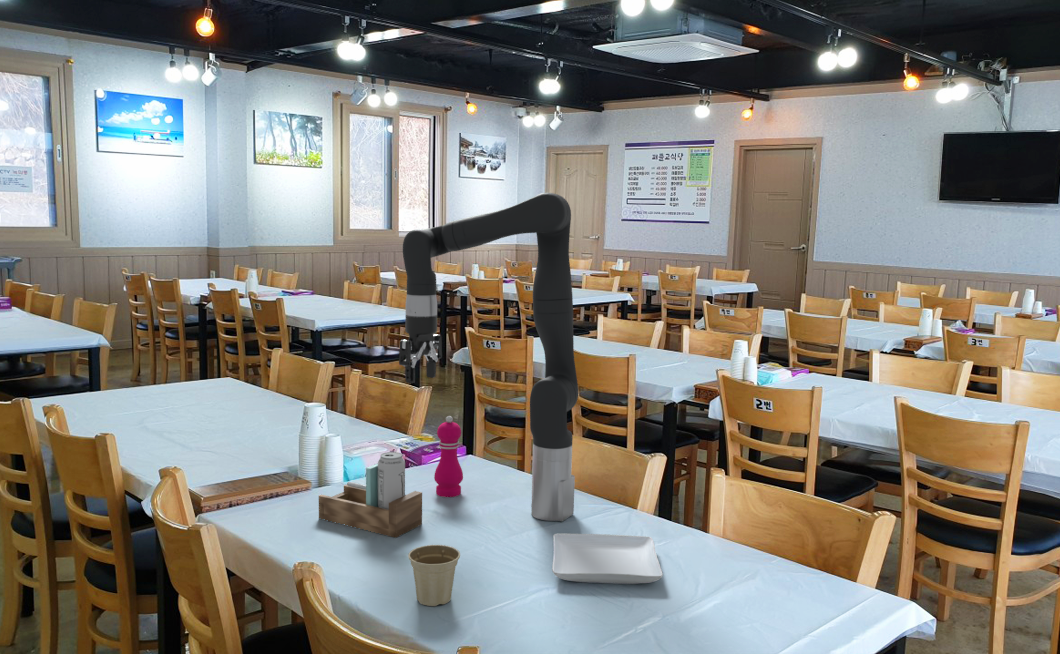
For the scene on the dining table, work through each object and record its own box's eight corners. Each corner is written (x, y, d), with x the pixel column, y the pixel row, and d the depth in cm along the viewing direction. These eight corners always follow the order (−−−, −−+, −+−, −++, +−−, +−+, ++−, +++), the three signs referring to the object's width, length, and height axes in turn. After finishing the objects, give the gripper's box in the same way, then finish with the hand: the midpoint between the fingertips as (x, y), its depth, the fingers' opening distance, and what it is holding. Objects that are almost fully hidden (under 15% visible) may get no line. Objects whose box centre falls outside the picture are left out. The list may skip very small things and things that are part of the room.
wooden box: (422, 524, 194) (422, 492, 193) (396, 537, 186) (396, 504, 185) (346, 506, 204) (346, 476, 203) (318, 518, 196) (318, 487, 195)
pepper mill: (458, 499, 212) (459, 420, 209) (430, 496, 213) (430, 418, 210) (466, 490, 219) (467, 413, 216) (439, 487, 220) (439, 411, 217)
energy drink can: (402, 525, 189) (402, 459, 187) (375, 524, 189) (375, 458, 187) (406, 515, 195) (407, 451, 193) (380, 514, 195) (380, 451, 193)
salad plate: (552, 546, 184) (553, 531, 183) (651, 549, 183) (652, 534, 183) (551, 588, 163) (552, 571, 162) (663, 593, 162) (664, 576, 162)
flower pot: (409, 588, 161) (409, 544, 160) (459, 587, 162) (460, 544, 161) (406, 611, 152) (406, 564, 150) (459, 610, 152) (460, 564, 151)
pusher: (389, 511, 196) (389, 461, 195) (370, 521, 190) (370, 468, 189) (358, 504, 201) (358, 455, 199) (338, 513, 195) (338, 462, 193)
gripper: (416, 317, 196) (416, 386, 198) (451, 311, 209) (450, 377, 211) (390, 314, 200) (390, 383, 202) (425, 309, 212) (425, 373, 214)
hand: (420, 379), depth 206 cm, fingers open, 8 cm apart
